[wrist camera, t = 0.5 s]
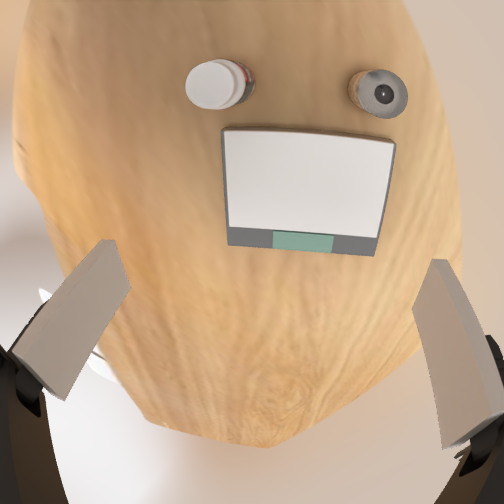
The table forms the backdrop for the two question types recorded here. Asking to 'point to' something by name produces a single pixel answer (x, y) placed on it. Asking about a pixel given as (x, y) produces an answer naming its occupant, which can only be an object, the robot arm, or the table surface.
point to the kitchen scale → (305, 189)
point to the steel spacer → (378, 93)
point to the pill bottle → (219, 84)
